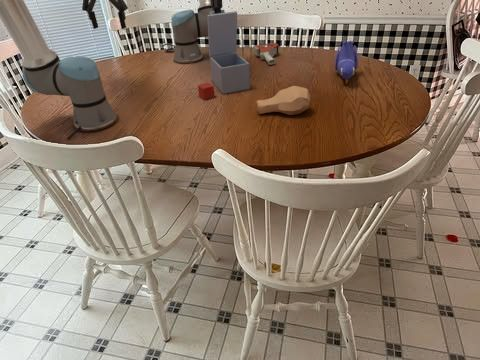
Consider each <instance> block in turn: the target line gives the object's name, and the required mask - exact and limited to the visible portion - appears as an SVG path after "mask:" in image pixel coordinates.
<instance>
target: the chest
mask: <svg viewBox="0 0 480 360" xmlns="http://www.w3.org/2000/svg"><path fill="white" fill-rule="evenodd" d="M209 64H210V73H211V74H210V75H211V81H212V83H213V84H214V85H215V86H216V88H218V90H219V91H220V92H221V94H223V95H225V94H231V93H235V92H241V91H245V90H251V71H250V69H251V68H250V63H249V62H248V61H247V60H246V59H245V58H243V56H241V55H240V54H238V52H232V53H226V54H220V55H214V56H209Z"/></svg>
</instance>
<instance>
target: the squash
mask: <svg viewBox="0 0 480 360" xmlns="http://www.w3.org/2000/svg"><path fill="white" fill-rule="evenodd" d="M311 98H312V97H311V95H310V90H309V89H307V88H306V87H302V86H298V85H292V86H289V87H287V88H283V89H280V90H279V91H277V92H276V94H275V95H274V96H272V97H271V98H265V99H257V100H256V102H255V103H256V107H257V109H256V110H257V113H258V114H259V115H263V114H266V113H273V112H275V113H282V114H284V115H287V116H295V115H300V114H301V113H303V112H305V111H306V110H308V109H309V107H310V102H311Z"/></svg>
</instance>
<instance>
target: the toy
mask: <svg viewBox="0 0 480 360" xmlns="http://www.w3.org/2000/svg"><path fill="white" fill-rule="evenodd" d="M353 44H354V41H353V40H349V41H347V40H344V41H342V45H339V46H338V48H337V50H336V53H335V56H334V70H335V71H336V72H337V73H338V74H339V75H340V76H341V77H342V79H344V82H345V85H348V82H349V80H350V79H351V78H352V77H353V76H354V75H355V74H356V70H357V69H358V66H359V53H358V49H357V46H356V45H353Z"/></svg>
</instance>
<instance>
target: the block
mask: <svg viewBox="0 0 480 360" xmlns="http://www.w3.org/2000/svg"><path fill="white" fill-rule="evenodd" d="M197 89H198V90H197V91H198V96H199V97H198V98H201V99H202V100H203V101H206V100H209V99H212V98H215V97H216V96H215V86H214V85H213V84H211V83H209V82H205V83H202V84H198V85H197Z"/></svg>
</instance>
